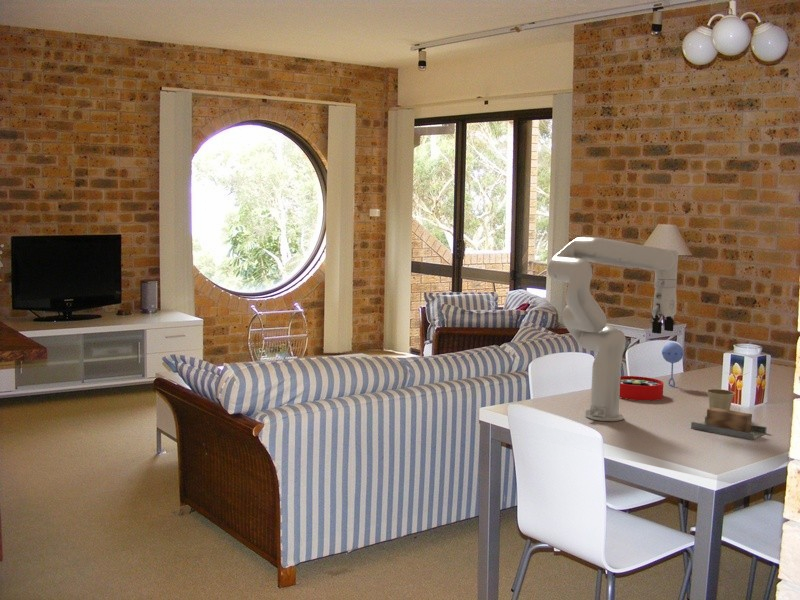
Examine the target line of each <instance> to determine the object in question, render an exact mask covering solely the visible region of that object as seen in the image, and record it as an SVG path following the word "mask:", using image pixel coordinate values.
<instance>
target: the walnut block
mask: <svg viewBox="0 0 800 600" xmlns="http://www.w3.org/2000/svg"><path fill="white" fill-rule="evenodd" d="M706 416H707V420H706V424H708V425H713V426H719V427H724V428H730V429H735V430H740V431H746V432H751V424H752V421H753V419H752V418H753V413H747V412H743V411H736V410H731V409H730V410H725V409H720V408H714V407H712V408H710V409H709V408H708V409H706Z"/></svg>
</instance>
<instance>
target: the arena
mask: <svg viewBox="0 0 800 600" xmlns="http://www.w3.org/2000/svg"><path fill="white" fill-rule="evenodd" d="M706 420H707V415H706V416H705V417H704V421H703V422H696V421H691V423H690V424H691V425H690V428H691V429H693V430H698V431H704V432H709V433H713V434H714V433H715V434H719V435H724V436H730V437H735V438H739V439H740V438H741V439H745V440H746V439H747V440H751V441H753V440H755V439H758V438H760V437H761V436H763V435H765V434H767V426H764V425H759V424H758V425H756V424H752V423H751V432H746V431H740V430H735V429H730V428H724V427H719V426H713V425H708V424H706Z"/></svg>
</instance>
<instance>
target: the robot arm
mask: <svg viewBox="0 0 800 600" xmlns="http://www.w3.org/2000/svg"><path fill="white" fill-rule="evenodd" d="M591 263H594V264H601V265H607V266H612V267H613V266H615V267H621V268H629V269H630V268H631V269H635V268H636V269H637V268H638V269H641V270H646V271H654V285H653V288H654V294H653V303H652V309H651V318H652V320H651V322H652V326H651V327H652V329H651V333H652V334H659V335H660V334H662V326H663V324H662V323H663V322H662V320H663V317H665V319H664V326H663V330H664V331H665V332H666V331H667V332H672V331H674V325H675V324H674V323H675V315H676V314H677V307H678V306H677V304H678V303H677V299H678V297H677V282H678V280H677V279H678V265H679V264H678V263H679V252H678V250H677V249H672V248H661V247H653V246H647V245H643V244H638V243H633V242H627V241H621V240H615V239H609V238H604V237H598V236H596V237H595V236H579V237H576V238H575V239H573V240H572V241H570V242H569V243H568V244H566V245H565V246H564V247H563V248H561V249H560V251H558V252H557V253H556V254H555V255H554V256H553V257H552V258H551V259H550V261H549V262H548V265H547V274H548V276H549V277H550V279H552V280H553V281H556V282H558V283H559V282H561V283H567V284H568V286H567V290H566V293H565V303H566V306H564V308H563V310H562V318H561V319H562V322H563V324H564V327H565V328H566V329H567V331H568V332H569V333H570V335H571V336H572V337H573V339H574V340H575V341H576V343H577V344H578V345H579V346H580V347H581V348H582V349H585V350H588V351H592V352H596V353H597V354H596V357H595V358H594V361H593V363H592V369H591V371H592V372H591V387H590V389H591V392H590V407H589V409H586V410H585V411H584V412H585V417H586V418H587V419H590V420H594V421H600V422H618V421H622V420H623V419H624V415H623V414H622V413H621V412H620V399H621V398H620V379H621V376H622V373H621V372H622V361H623V355H624V351H625V348H626V339H627V338H626V336H625V333H624V332H623V331H622V330H621V329H619V328H618V327H615V326H612V325H607V324H608V323H607V322H608V320H607V316H606V314H605V312H604V310H603V309H602V308H601V306H600V305H599V304H598V302H597V301H596V300H595V298H594V297H593V295H592V294H591V290H590V286H591V282H592V278H593V268H592V265H591Z"/></svg>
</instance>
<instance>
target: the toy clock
mask: <svg viewBox="0 0 800 600" xmlns="http://www.w3.org/2000/svg"><path fill="white" fill-rule="evenodd" d="M663 395H664V382H663V381H662V380H660V379H658V378H653V377H647V376H637V375H621V379H620V397H622V398H627V399H626V400H628V399H635V400H634V401H638V400H653V401H658V400H659V399H660V400H662V399H663V398H664V396H663ZM622 398H621V399H622Z"/></svg>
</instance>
